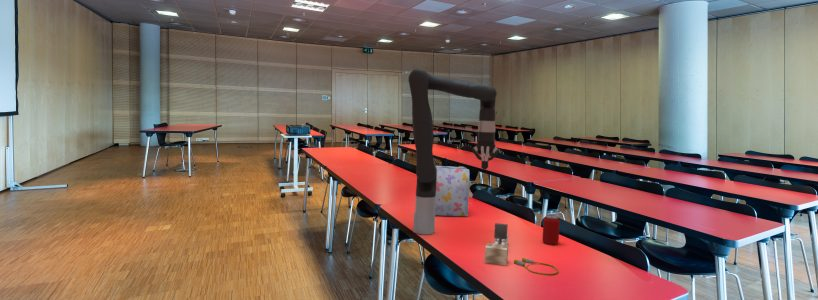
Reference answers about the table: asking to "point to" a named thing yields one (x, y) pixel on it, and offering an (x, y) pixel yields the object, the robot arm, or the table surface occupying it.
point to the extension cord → (522, 263)
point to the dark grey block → (500, 232)
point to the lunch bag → (452, 191)
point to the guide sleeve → (504, 242)
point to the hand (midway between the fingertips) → (484, 169)
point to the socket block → (496, 254)
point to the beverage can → (551, 229)
